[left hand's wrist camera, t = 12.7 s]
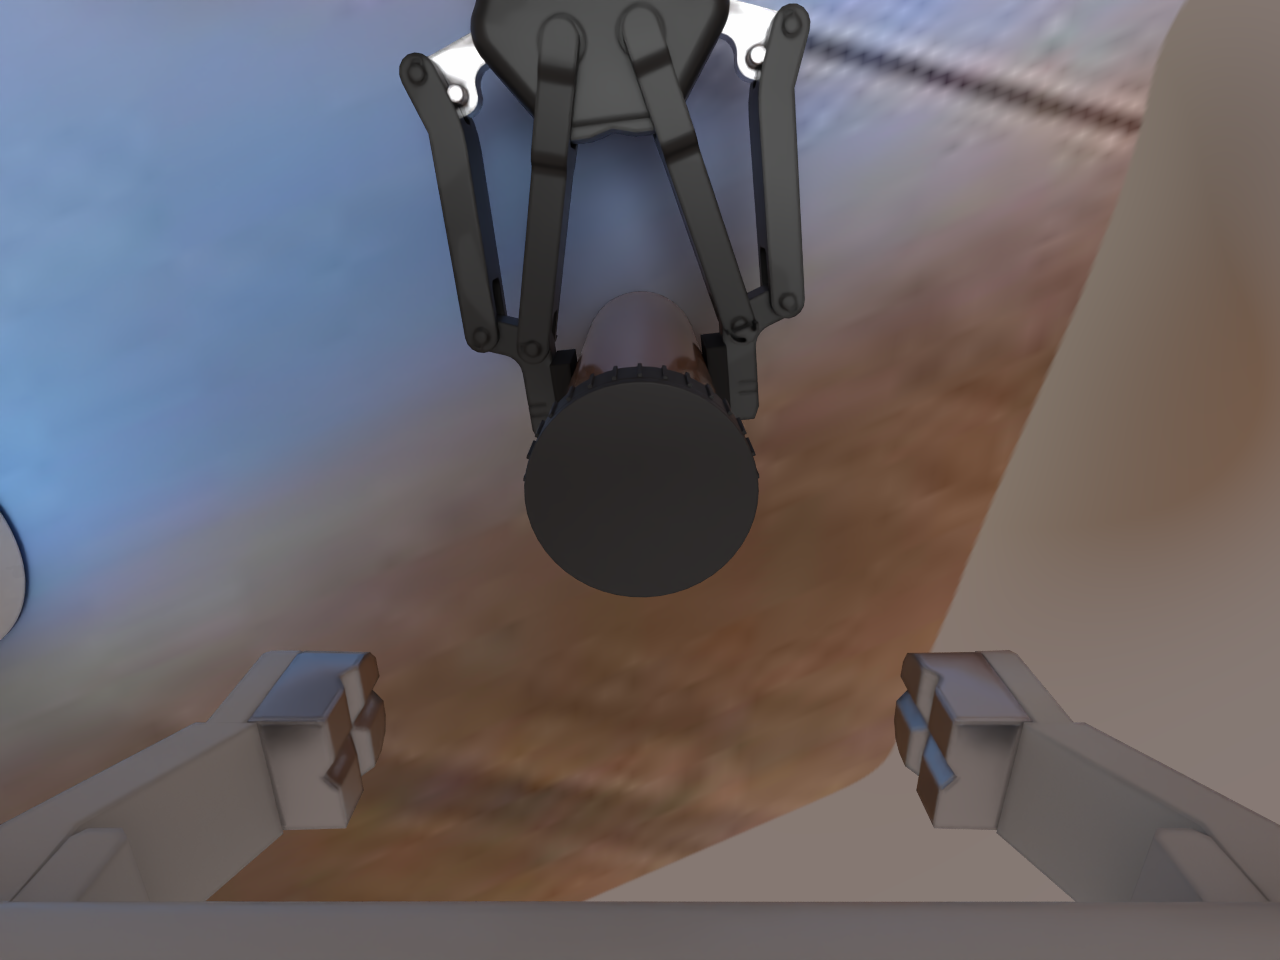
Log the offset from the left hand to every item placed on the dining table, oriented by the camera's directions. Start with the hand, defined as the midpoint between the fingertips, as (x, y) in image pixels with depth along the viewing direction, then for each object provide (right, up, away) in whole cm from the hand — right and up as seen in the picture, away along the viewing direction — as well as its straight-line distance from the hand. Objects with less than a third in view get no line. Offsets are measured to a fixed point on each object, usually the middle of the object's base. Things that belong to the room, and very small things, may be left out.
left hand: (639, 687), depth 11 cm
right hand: (+1, +2, +20) cm, 20 cm away
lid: (0, +3, +7) cm, 8 cm away
